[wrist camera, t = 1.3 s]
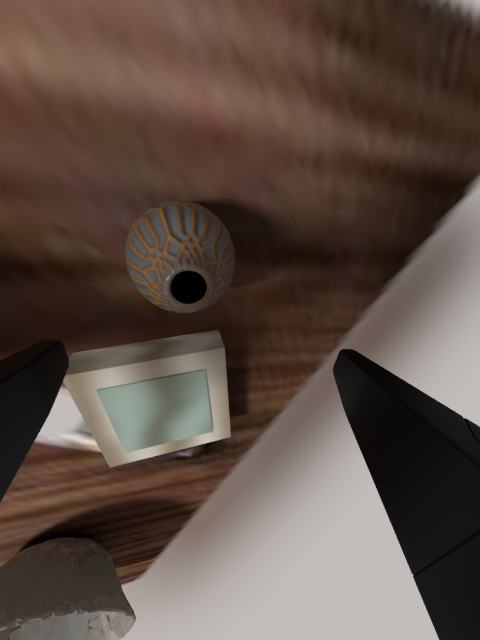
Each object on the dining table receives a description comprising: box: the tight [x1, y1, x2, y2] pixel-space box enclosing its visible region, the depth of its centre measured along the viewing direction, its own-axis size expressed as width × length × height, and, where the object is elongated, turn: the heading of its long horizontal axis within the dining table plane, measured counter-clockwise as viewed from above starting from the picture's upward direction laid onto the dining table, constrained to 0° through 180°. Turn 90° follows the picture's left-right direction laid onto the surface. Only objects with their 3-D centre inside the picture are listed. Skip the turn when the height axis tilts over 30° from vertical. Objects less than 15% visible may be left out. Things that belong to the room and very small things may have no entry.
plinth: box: [63, 329, 231, 467], centre depth 25 cm, size 13×13×3 cm
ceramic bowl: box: [0, 537, 136, 640], centre depth 33 cm, size 22×23×10 cm
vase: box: [125, 200, 235, 313], centre depth 16 cm, size 7×7×9 cm
